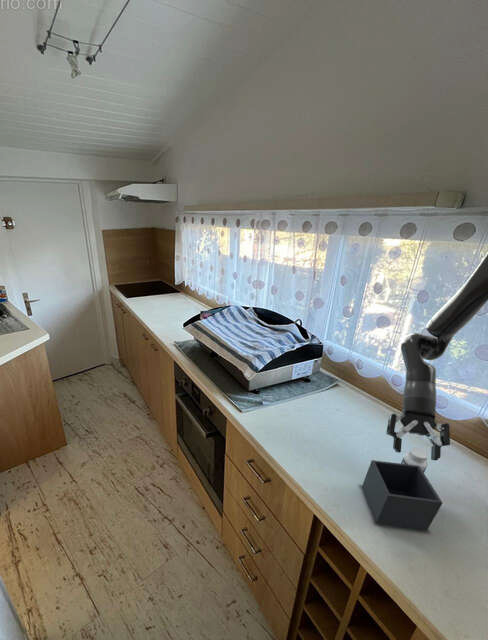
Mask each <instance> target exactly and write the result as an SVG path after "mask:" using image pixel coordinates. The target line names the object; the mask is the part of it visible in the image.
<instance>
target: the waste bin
mask: <svg viewBox="0 0 488 640" xmlns="http://www.w3.org/2000/svg"><path fill="white" fill-rule="evenodd" d="M361 488H362V490H363V494H364V496H365V498H366V501H367V503H368V507H369V510H370V511H371V514H372V516H373V520H374V522H375V524H377V525H385V526H390V527H398V528H405V529H411V530H417V531H423V532H424V531H425V532H427V531H428V530H429V528H430V526H431V525H432V523H433V521H434V519H435V518H436V516H437V514H438V512H439V510H440V508H442V505H443V501H442V499H441V498H440V496H439V495H438V493H437V491H436V490H435V488H434V487H433V484H431V482H430V480H429V479H428V477H427V475H426V474H425V472H424V473H423V471H422V470H421V468H420V466H416V465H408V464H401V463H400V462H399V463H398V462H391V461H381V460H373V459H372V460H371V461H370V464H369V466H368V468H367V471H366V475H365V477H364V480H363V483H362V485H361Z"/></svg>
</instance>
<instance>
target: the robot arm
mask: <svg viewBox="0 0 488 640" xmlns="http://www.w3.org/2000/svg"><path fill="white" fill-rule="evenodd" d="M487 303H488V251H487V252H486V254H485V255H484V257H482V260H481V261H480V263H479V264H478V266H477V267H476V268H475V270H474V272H473V273H472V274H471V276H470V277H469V278H468V280H467V281H465V283H464V284H463V285H462V287H461V288H460V289H458V291H457V292H456V293H455V294H454V295H453V296H452V297H451V298H450V299H449V300H448V301H447V302H445V304H444V305H443V306H442V307H441V308H440V309H439V310H438V311H437V312H436V313H435V314H434V315H433V316H432V317H431V318H430V319H429V321H427V322H426V323H427V324H426V326H425V329H426V331H427V332H428V333H429V335H427V334H422V333H417V332H412V333H409V334H406V336H405V337H403V339H402V340H401V344H400V351H401V356H402V360H403V364H404V367H405V383H404V389H403V393H402V410H401V411H402V413H401V415H397V414H396V413H391V414H390V415H388V421H387V425H386V426H387V427H386V435H388V436H390V437H392V438H393V443H392V444H393V445H392V448H393V450H394V453H401V452H402V442H403V438H402V437H403V436H405V435H406V434H407V433H409V434H410V435H411V434H412V435H418V436H421V437H423V436H424V437H425V438H426V439H427V440H428V441H429V442H430V444H431V445H432V446H430V447H431V448H430V450H431V451H430V460H431V461H438V460H439V459H440V458H441V455H442V454H441V453H442V452H441V450H442V447H447V446H450V445H451V432H450V430H451V429H450V424H449V423H447V422H444V423H441V422H437V421H436V414H437V413H436V412H437V410H436V409H437V387H436V385H437V384H436V383H437V369H436V367H435V366H434V365H432V364H431V363H428V362H427V361H435V360H437V359H439V358H441V357H442V356H443V355H444V353H445V352H446V350H447V348H448V347H449V345H450V343H451V341H452V340H453V338H454V336H455V335H456V334H458V332H459V331H461V330H462V329H463V328H464V327H466V325H467V324H468V323H470V321H472V319H473V318H474V317H475V316H476V315H477V314H479V312H480V311H481V310H482V309H483V307H484V306H485V305H486V304H487ZM425 360H426V361H425ZM399 421H400V423H401V424H402V427H401V428H400V429H398V431H396V430H395V429H396V424H397V423H398V422H399ZM435 428H437V430H438V432H439V436H438V434H437V433H436V432H435V430H434V429H435Z"/></svg>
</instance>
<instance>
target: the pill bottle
mask: <svg viewBox="0 0 488 640" xmlns="http://www.w3.org/2000/svg"><path fill="white" fill-rule="evenodd" d="M428 458H429V455H428V453H427V452H426V451H425V450H424V449H422V448H418V447H411V448H410V449H409V452H407V453H405V454H404V456H403V458H402V460H401V462H400V464H408V465H416V466H420V468H421V470H422V471H423V473H424V474H425V472H426V469H427V468H428V461H427V460H428Z"/></svg>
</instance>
